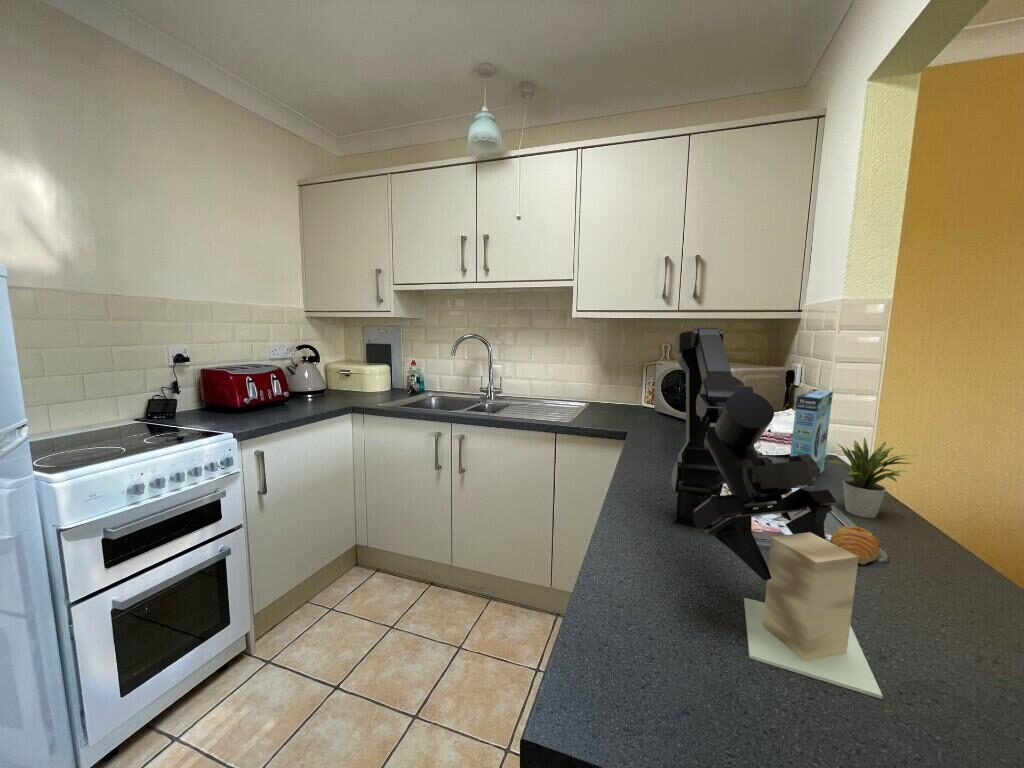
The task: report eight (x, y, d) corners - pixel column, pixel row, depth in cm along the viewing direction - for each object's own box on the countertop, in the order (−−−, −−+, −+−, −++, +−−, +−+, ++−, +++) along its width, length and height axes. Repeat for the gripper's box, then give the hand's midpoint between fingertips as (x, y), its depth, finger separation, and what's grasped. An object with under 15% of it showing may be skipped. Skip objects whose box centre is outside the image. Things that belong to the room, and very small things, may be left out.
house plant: (891, 536, 79) (902, 452, 77) (808, 509, 91) (816, 436, 89) (916, 520, 87) (927, 443, 85) (837, 497, 99) (845, 429, 97)
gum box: (803, 467, 122) (811, 388, 119) (825, 471, 118) (834, 390, 115) (786, 482, 108) (795, 394, 105) (810, 488, 104) (819, 397, 102)
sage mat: (749, 658, 49) (749, 654, 49) (743, 600, 59) (744, 597, 59) (882, 699, 43) (882, 695, 43) (849, 627, 54) (850, 624, 54)
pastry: (878, 573, 67) (880, 550, 67) (825, 558, 72) (828, 537, 71) (879, 551, 74) (881, 530, 74) (831, 538, 79) (833, 519, 78)
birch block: (762, 625, 53) (771, 536, 52) (800, 619, 55) (810, 532, 53) (805, 661, 48) (816, 562, 46) (846, 653, 49) (858, 556, 48)
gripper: (714, 435, 53) (781, 566, 43) (831, 429, 57) (914, 546, 48) (672, 475, 61) (720, 591, 52) (776, 467, 66) (838, 572, 56)
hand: (798, 575), depth 52 cm, fingers open, 9 cm apart
